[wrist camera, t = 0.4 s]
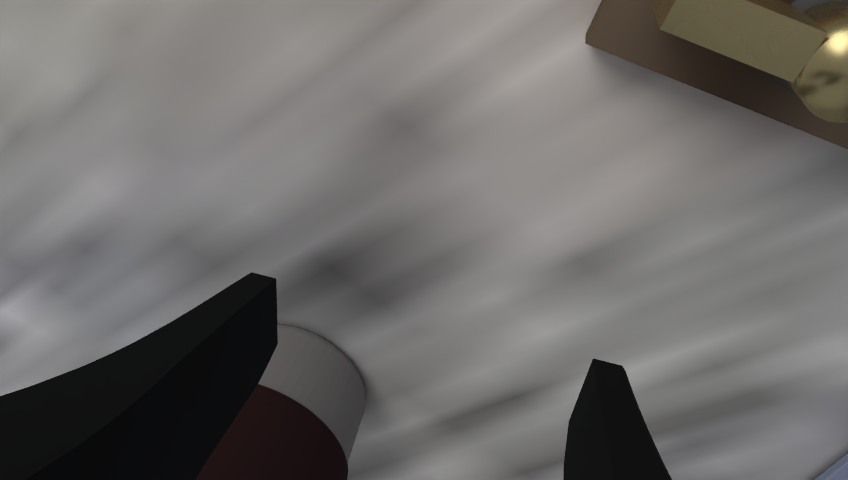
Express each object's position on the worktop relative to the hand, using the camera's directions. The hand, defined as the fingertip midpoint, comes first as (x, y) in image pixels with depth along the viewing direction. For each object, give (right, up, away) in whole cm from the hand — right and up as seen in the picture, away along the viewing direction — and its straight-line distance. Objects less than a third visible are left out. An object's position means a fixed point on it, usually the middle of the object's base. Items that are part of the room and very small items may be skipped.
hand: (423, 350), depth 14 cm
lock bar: (+9, +8, +2) cm, 12 cm away
